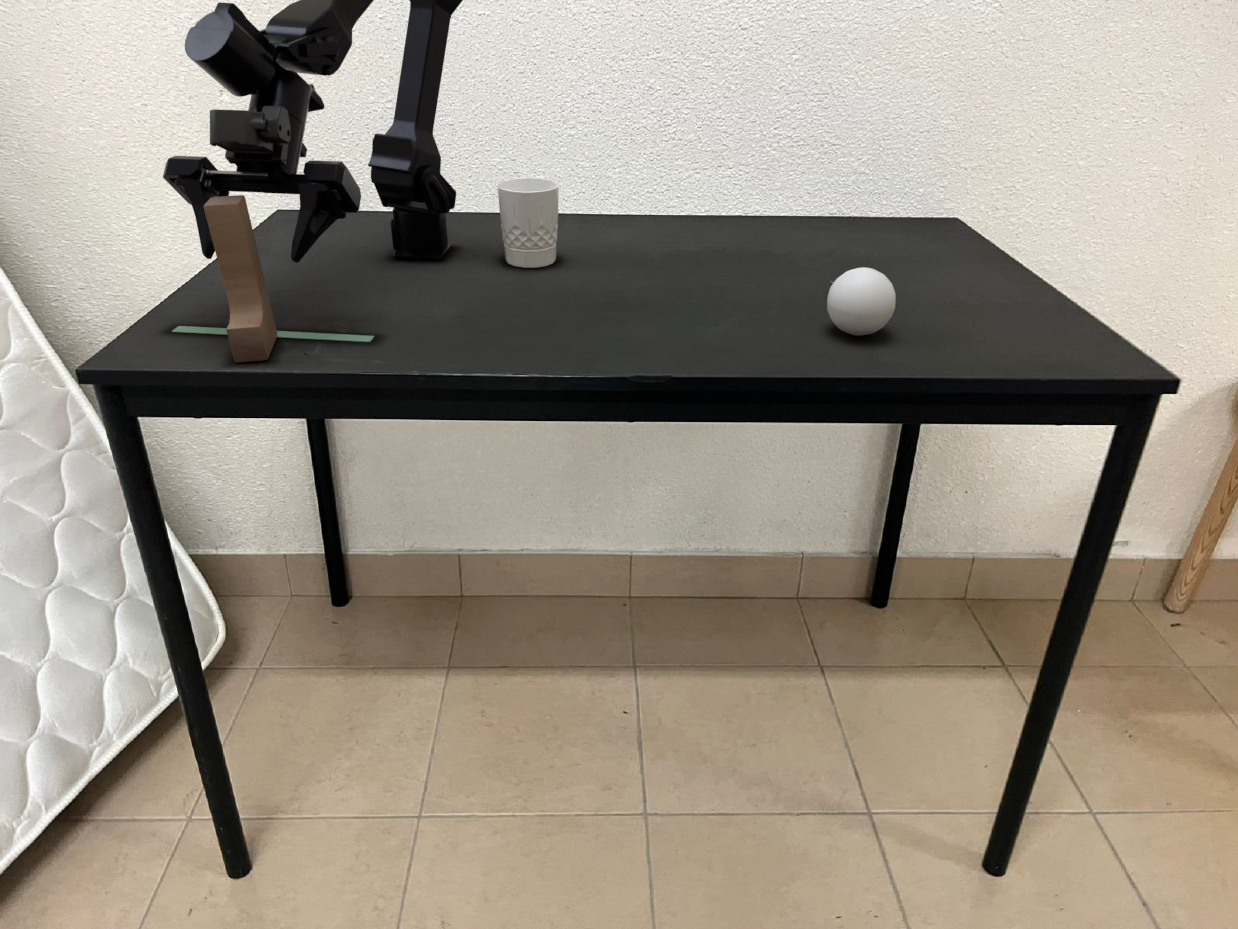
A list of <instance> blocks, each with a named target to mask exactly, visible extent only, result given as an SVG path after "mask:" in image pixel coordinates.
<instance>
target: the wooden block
mask: <svg viewBox="0 0 1238 929" xmlns="http://www.w3.org/2000/svg"><path fill="white" fill-rule="evenodd" d="M204 210H205V214H206V218H207V222H208V225H209V229H210V233H211V237H212V241H213V245H214V248H215V252H214V253H215V256H216V260H217V262H218V267H219V272H220V274H221V278H222V282H223V286H224V290H225V293H226V298H227V302H228V308H229V323H228V325H227V326H226V328H227V329H226V331H227V335H226V336H227V338H228V342H229V347H230V350H231V354H232V357H233V361H234V363H250V362H259V361H260V362H261V361H267V360H269V358H270V356H271V353H272V350H273V348H274V345H275V343H276V340H277V335H278V334H277V331H278V330H277V326H276V321H275V317H274V312H273V310H272V305H271V301H270V297H269V291H268V289H267V284H266V279H265V276H264V271H263V267H262V263H261V259H260V255H259V250H258V246H257V242H256V238H255V233H254V229H253V224H252V221H251V217H250V212H249V208H248V205H247V200H246V196H245V195H243V194H239V195H229V196H221V197H211V198H210V199H209V200H208V201H207V202H206V204H205V205H204Z"/></svg>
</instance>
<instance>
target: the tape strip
mask: <svg viewBox="0 0 1238 929" xmlns="http://www.w3.org/2000/svg"><path fill="white" fill-rule="evenodd" d="M226 329H227V327H210V326H209V327H208V326H207V327H205V326H187V325H178V326H176V327H175V328H173V329H172V330H171V332H170V333H179V334H196V335H197V334H199V335H201V334H202V335H218V336H228V335H227V331H226ZM277 334H278V335H277V338H278V339H292V340H293V339H294V340H298V339H299V340H318V341H331V342H332V341H335V342H336V341H337V342H353V343H371V342H372V340H373V339H374V338H375V335H363V334H346V333H345V334H343V333H325V332H324V333H323V332H308V331H307V332H306V331H289V330H288V331H286V330H284V331H283V330H277ZM277 338H276V339H277Z"/></svg>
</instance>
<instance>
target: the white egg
mask: <svg viewBox="0 0 1238 929" xmlns="http://www.w3.org/2000/svg"><path fill="white" fill-rule="evenodd" d="M829 282H830V283H832V284H831V286H830V287H829V290H828V294H827V296H826V298H825V299H826V306H827V307H826V309H827V313H828V316H829V318H830V320H831V321H832V323H833V324H834V325H835V326H836V327H837V328H838V329H839V330H840V331H842V332H844V333H846V334H849V335H851V336H858V337H861V336H867V335H872V334H874V333H876V332H878V331H880V330H881V329H883V328H884V327H885V326H886V325H887V324H888V323H889V321H890V319H891V318H893V315H894V312H895V309H896V307H897V302H896V300H897V299H896V298H897V297H896V290H895V288H894V285H893V283H892V282H891V280H890V279H889V278H888V277H887V276H886V275H885V274H884V273H882V272H880V271H878V270H876V269H875V268H872V267H863V266H862V267H856V268H853V269H849V270H846V271H845V272H844V273H842V274H841V275H839V276H838V277H837V278H836V279H835V280H834V281H832V280H829Z"/></svg>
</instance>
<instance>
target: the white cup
mask: <svg viewBox="0 0 1238 929" xmlns="http://www.w3.org/2000/svg"><path fill="white" fill-rule="evenodd" d="M496 186H497V196H498V205H499V206H498V208H499V219H500V227H501V228H500V229H501V235H502V236H501V237H502V241H503V248H504V260H505V261H506V263H507V264H508V265H510V266H513V267H517V268H524V269H536V268H542V267H543V268H544V267H547V266H550V265H553V264H554V263H555V262H556V261H557V240H558V228H559V227H558V226H559V198H560V196H559V195H560V194H559V193H560V184H559V182H557V181H555V180H553V179H550V178H542V177H515V178H509V179H504V180H502V181H499V182H498V183H497V185H496Z"/></svg>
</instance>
